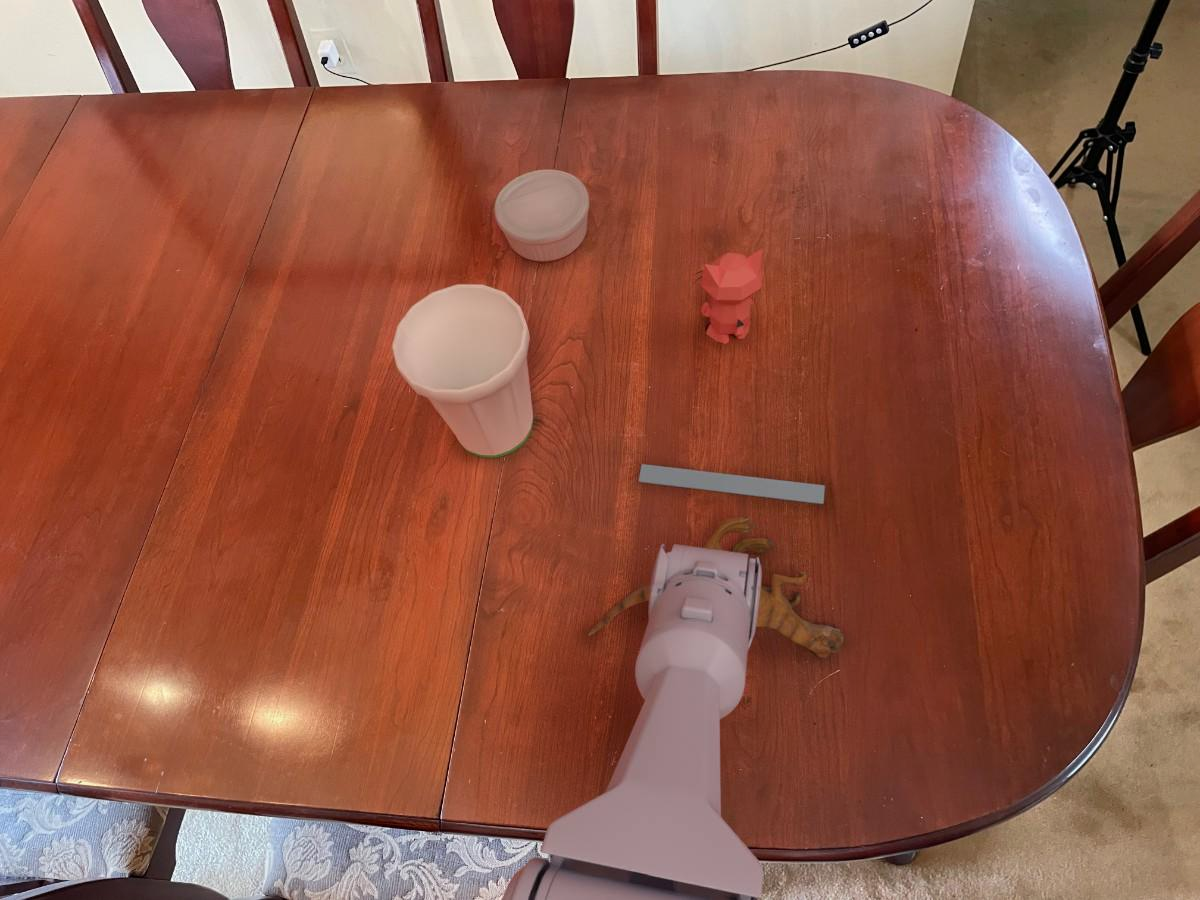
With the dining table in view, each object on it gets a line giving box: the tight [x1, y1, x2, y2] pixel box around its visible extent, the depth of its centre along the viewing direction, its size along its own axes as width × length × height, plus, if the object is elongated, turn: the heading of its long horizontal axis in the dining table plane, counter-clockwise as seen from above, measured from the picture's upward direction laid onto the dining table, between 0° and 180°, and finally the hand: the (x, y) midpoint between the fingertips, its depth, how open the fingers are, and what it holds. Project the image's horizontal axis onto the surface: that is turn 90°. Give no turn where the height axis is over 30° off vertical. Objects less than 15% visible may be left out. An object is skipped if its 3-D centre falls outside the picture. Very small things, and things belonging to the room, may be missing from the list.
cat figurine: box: [692, 247, 764, 345], centre depth 87 cm, size 7×7×12 cm
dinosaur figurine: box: [586, 516, 845, 659], centre depth 75 cm, size 7×22×12 cm
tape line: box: [637, 463, 826, 505], centre depth 83 cm, size 2×18×1 cm, turn 79°
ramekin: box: [493, 169, 590, 263], centre depth 100 cm, size 11×11×5 cm
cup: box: [391, 283, 535, 459], centre depth 83 cm, size 12×12×15 cm
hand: (703, 687), depth 72 cm, fingers closed
